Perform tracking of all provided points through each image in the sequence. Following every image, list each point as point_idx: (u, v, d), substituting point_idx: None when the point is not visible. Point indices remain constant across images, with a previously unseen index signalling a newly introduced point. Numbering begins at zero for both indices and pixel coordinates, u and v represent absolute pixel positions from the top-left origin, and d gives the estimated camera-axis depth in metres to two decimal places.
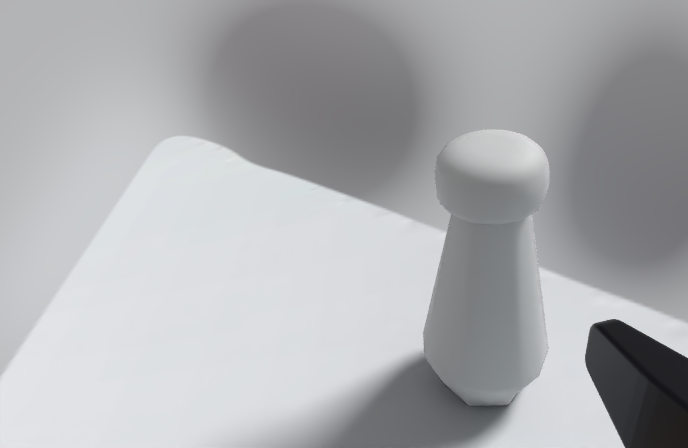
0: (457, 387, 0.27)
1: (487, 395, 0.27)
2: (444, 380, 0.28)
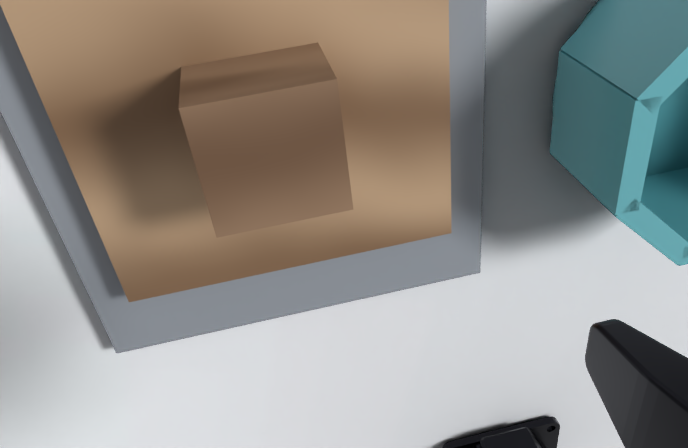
0: None
1: None
2: None
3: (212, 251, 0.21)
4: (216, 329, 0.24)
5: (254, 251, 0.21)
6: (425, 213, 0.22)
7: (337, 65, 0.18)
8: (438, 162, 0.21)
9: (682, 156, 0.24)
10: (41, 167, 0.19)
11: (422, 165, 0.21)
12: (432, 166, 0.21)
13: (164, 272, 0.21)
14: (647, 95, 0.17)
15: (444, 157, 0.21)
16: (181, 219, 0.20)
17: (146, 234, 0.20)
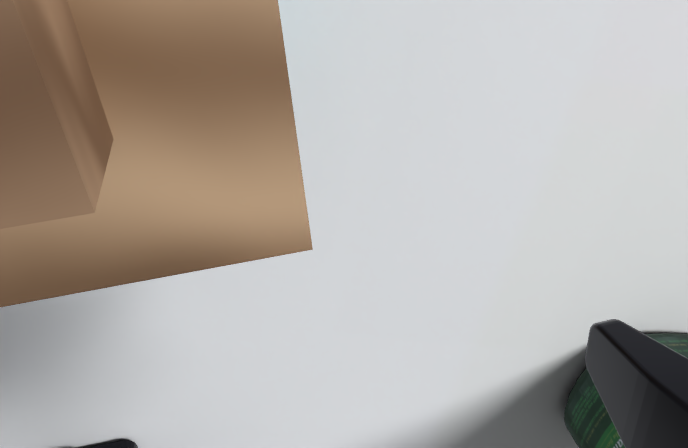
0: None
1: None
2: None
3: None
4: None
5: (12, 269, 0.15)
6: (269, 221, 0.15)
7: None
8: (279, 146, 0.14)
9: None
10: None
11: (255, 150, 0.14)
12: (270, 152, 0.14)
13: None
14: None
15: (287, 140, 0.14)
16: None
17: None
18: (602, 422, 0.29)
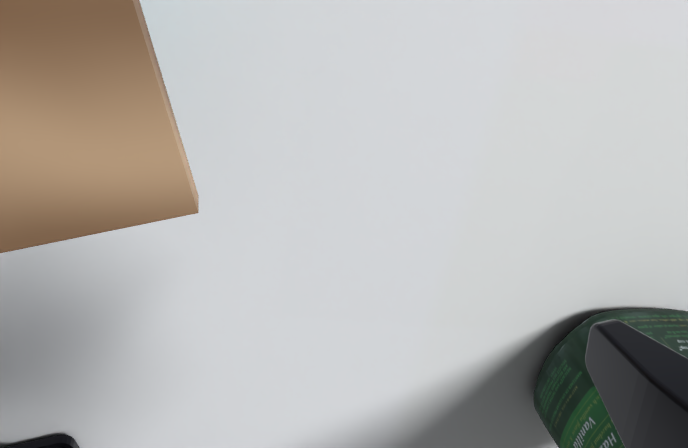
0: None
1: None
2: None
3: None
4: None
5: None
6: (142, 181, 0.14)
7: None
8: (139, 94, 0.13)
9: None
10: None
11: (111, 98, 0.13)
12: (130, 100, 0.13)
13: None
14: None
15: (146, 86, 0.13)
16: None
17: None
18: (569, 404, 0.27)
